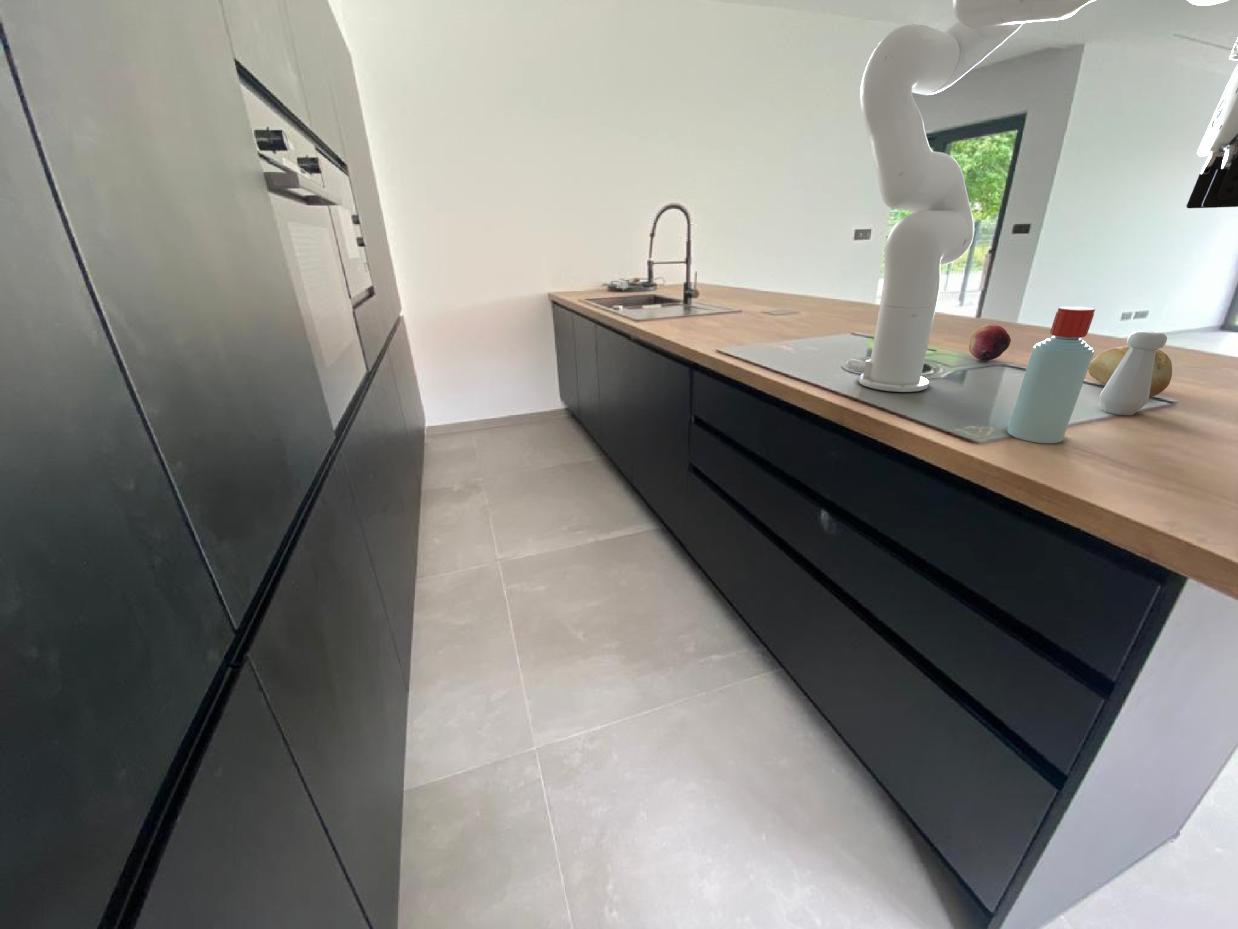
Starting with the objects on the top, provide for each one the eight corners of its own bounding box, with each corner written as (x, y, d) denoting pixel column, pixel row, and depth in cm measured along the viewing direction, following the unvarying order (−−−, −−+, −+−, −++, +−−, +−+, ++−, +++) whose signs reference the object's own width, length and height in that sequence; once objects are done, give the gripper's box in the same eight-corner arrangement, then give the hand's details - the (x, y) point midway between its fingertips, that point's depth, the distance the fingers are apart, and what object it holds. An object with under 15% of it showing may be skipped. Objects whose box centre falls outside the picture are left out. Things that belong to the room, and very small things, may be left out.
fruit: (985, 355, 121) (994, 321, 118) (1013, 362, 114) (1023, 326, 111) (956, 357, 120) (965, 323, 116) (983, 365, 113) (993, 329, 110)
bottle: (1012, 440, 74) (1052, 314, 66) (1003, 425, 79) (1038, 308, 72) (1068, 446, 71) (1116, 316, 64) (1055, 430, 77) (1097, 309, 69)
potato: (1126, 379, 99) (1142, 339, 96) (1182, 402, 86) (1203, 356, 83) (1069, 378, 101) (1083, 338, 98) (1115, 400, 88) (1133, 355, 85)
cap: (1054, 336, 68) (1063, 309, 67) (1046, 332, 71) (1055, 305, 70) (1090, 338, 67) (1099, 310, 65) (1080, 333, 70) (1089, 306, 68)
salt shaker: (1151, 417, 80) (1187, 335, 75) (1109, 416, 81) (1142, 335, 76) (1126, 406, 85) (1157, 328, 80) (1087, 405, 86) (1115, 328, 81)
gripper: (1217, 58, 64) (1158, 209, 71) (1258, 21, 51) (1181, 208, 59) (1310, 45, 59) (1236, 206, 67) (1377, 1, 47) (1279, 205, 55)
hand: (1210, 207), depth 63 cm, fingers open, 9 cm apart
